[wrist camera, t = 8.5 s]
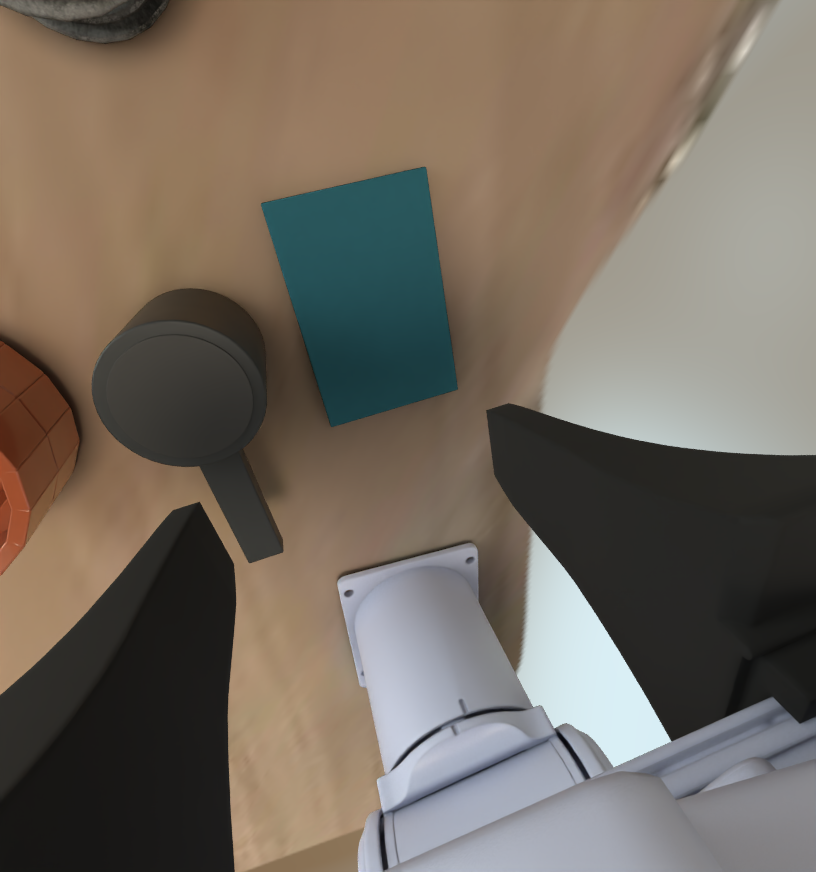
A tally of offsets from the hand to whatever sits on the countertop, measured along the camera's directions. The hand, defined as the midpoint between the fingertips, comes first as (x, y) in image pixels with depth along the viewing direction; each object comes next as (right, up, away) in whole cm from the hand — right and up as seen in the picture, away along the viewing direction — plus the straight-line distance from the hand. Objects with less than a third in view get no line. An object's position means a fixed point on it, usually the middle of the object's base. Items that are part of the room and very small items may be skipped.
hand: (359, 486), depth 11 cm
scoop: (-6, +2, +8) cm, 10 cm away
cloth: (0, +6, +7) cm, 10 cm away
